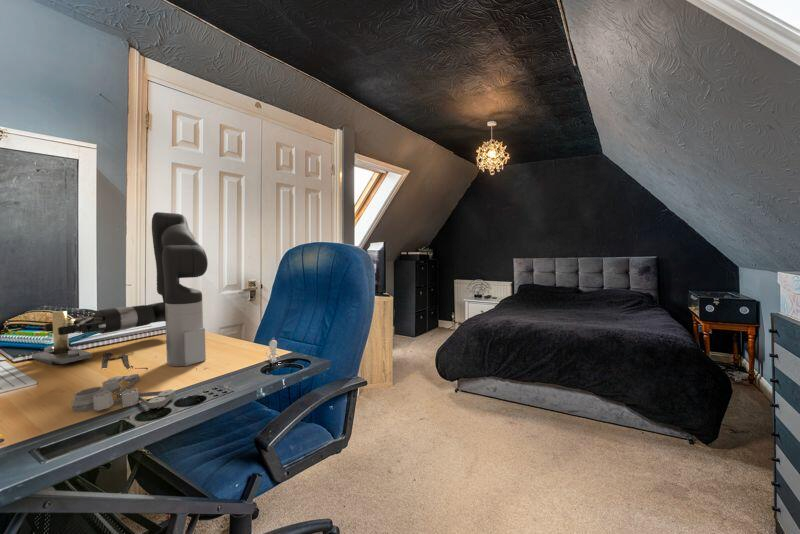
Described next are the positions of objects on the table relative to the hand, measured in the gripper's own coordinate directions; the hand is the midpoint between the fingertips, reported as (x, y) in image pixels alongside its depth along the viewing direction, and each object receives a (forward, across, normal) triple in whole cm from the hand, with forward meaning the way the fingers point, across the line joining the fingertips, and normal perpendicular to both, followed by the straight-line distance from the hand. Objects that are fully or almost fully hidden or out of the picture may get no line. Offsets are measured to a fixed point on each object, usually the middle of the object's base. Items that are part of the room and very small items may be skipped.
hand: (51, 329), depth 106 cm
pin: (-2, 0, +9) cm, 9 cm away
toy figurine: (-29, +55, +10) cm, 63 cm away
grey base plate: (-2, 0, +9) cm, 9 cm away
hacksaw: (-9, +19, +10) cm, 23 cm away
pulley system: (+5, +45, +10) cm, 46 cm away
